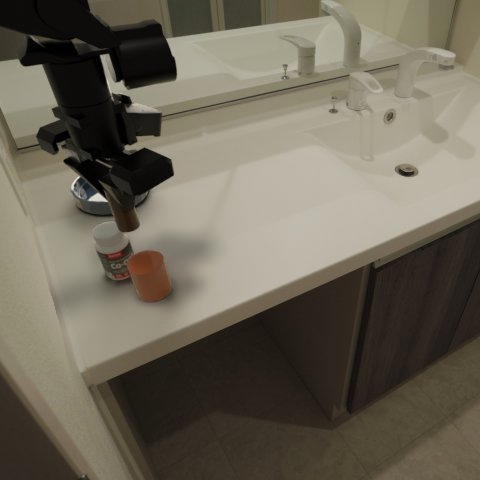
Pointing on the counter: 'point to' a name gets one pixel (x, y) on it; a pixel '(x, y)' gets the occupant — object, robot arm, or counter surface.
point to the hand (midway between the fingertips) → (122, 206)
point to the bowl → (93, 198)
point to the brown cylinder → (122, 215)
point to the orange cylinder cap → (149, 275)
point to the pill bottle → (113, 250)
